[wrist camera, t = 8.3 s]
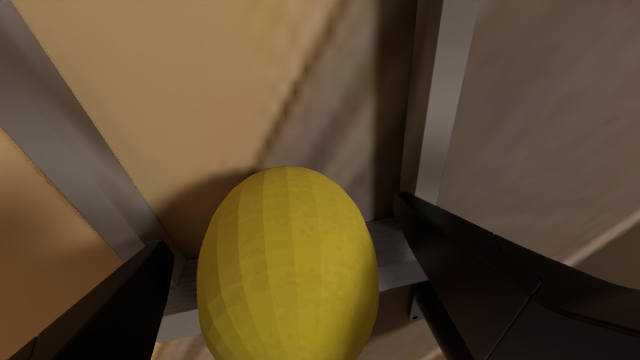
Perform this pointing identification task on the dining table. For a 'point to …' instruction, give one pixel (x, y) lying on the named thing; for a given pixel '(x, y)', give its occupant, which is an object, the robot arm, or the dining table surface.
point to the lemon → (287, 271)
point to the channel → (131, 208)
